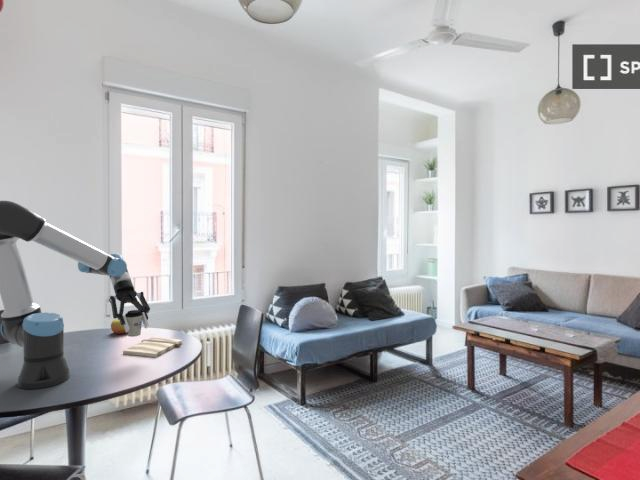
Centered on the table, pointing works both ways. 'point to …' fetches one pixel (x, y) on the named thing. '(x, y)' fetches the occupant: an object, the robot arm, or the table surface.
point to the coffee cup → (134, 322)
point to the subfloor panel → (153, 347)
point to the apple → (117, 327)
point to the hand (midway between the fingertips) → (137, 328)
